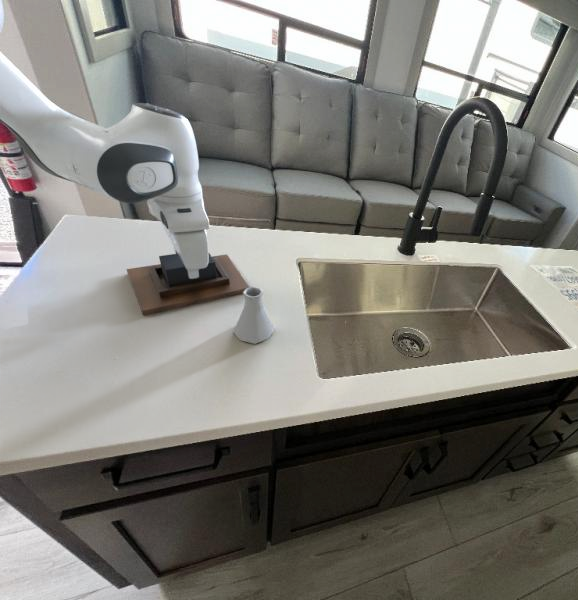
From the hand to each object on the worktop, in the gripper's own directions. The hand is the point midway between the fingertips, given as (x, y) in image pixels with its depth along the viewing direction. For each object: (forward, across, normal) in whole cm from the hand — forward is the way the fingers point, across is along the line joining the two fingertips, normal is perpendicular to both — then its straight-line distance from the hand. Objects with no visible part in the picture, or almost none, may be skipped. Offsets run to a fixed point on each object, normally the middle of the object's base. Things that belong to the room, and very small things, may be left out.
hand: (186, 264), depth 70 cm
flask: (+5, +20, +6) cm, 22 cm away
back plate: (+5, 0, 0) cm, 5 cm away
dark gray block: (+4, 0, 0) cm, 4 cm away
